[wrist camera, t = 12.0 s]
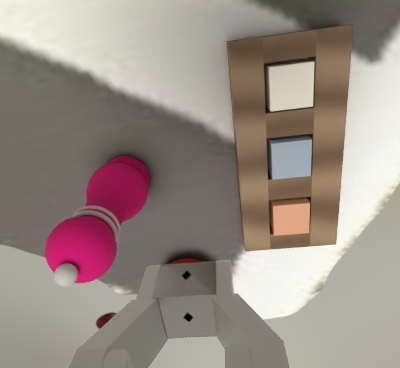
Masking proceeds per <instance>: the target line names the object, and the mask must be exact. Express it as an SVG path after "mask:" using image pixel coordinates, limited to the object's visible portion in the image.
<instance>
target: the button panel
mask: <svg viewBox="0 0 400 368" xmlns="http://www.w3.org/2000/svg"><path fill="white" fill-rule="evenodd" d="M352 35H353V25H343V26H334V27H327V28H320V29H313V30H306V31H299V32H292V33H284V34H277V35H270V36H263V37H256V38H249V39H242V40H235V41H228V42H227V50H228V62H229V74H230V87H231V99H232V111H233V123H234V135H235V148H236V160H237V172H238V184H239V196H240V209H241V221H242V233H243V240H244V247H245V251H255V250H268V249H281V248H294V247H308V246H321V245H334V244H336V239H337V227H338V214H339V201H340V188H341V176H342V163H343V150H344V137H345V125H346V112H347V99H348V86H349V74H350V61H351V48H352ZM304 59H306V60H310V61H314V91H313V107H304V108H296V109H287V110H279V111H270V110H269V109H268V108H267V106H266V105H265V79H264V65H266V64H273V63H281V62H288V61H296V60H304ZM303 134H307V135H308V136H309V137H310V138H311V139H312V156H311V176H305V177H294V178H284V179H274V180H272V177H271V175H270V173H269V170H268V163H267V138H275V137H284V136H293V135H303ZM298 197H307V199H308V200H309V202H310V221H309V233H303V234H291V235H278V236H274V234H273V231H272V227H271V224H270V220H269V200H276V199H287V198H298Z"/></svg>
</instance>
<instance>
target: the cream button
mask: <svg viewBox="0 0 400 368" xmlns="http://www.w3.org/2000/svg"><path fill="white" fill-rule="evenodd" d="M264 79H265V105H266V106H267V108H268V109H269V110H270V111H279V110H287V109H296V108H304V107H313V91H314V61H310V60H306V59H304V60H296V61H288V62H281V63H273V64H266V65H264Z"/></svg>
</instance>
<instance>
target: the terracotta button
mask: <svg viewBox="0 0 400 368" xmlns="http://www.w3.org/2000/svg"><path fill="white" fill-rule="evenodd" d="M269 220H270V224H271V227H272V231H273V234H274V236H278V235H291V234H303V233H309V221H310V202H309V200H308V199H307V197H298V198H287V199H276V200H269Z"/></svg>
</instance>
